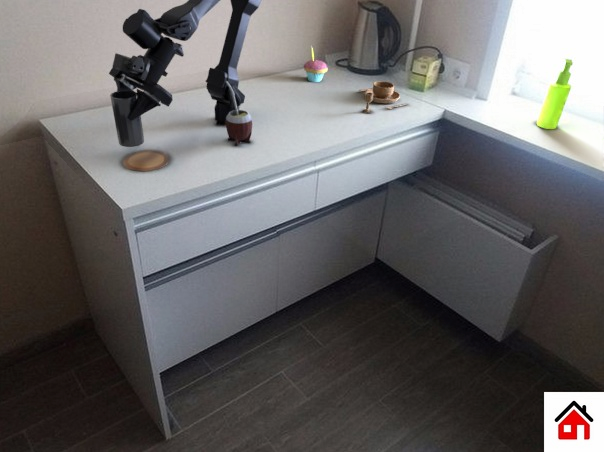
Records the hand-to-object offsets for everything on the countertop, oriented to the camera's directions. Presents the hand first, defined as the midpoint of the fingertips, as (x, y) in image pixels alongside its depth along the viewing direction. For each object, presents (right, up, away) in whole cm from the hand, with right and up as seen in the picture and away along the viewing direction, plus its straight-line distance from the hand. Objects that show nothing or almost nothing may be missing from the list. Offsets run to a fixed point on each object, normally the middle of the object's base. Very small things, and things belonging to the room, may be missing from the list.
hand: (121, 116), depth 117 cm
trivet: (+4, -10, +5) cm, 12 cm away
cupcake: (+48, +27, +64) cm, 84 cm away
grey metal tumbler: (+1, -5, +5) cm, 7 cm away
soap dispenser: (+120, +6, +39) cm, 126 cm away
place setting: (+67, +16, +49) cm, 84 cm away
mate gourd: (+25, -3, +17) cm, 31 cm away
